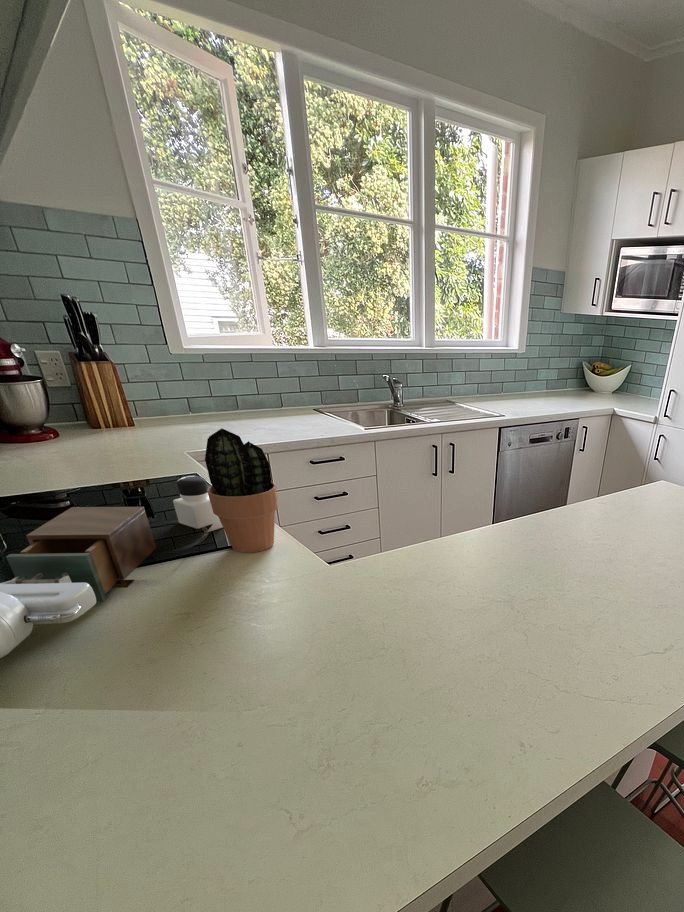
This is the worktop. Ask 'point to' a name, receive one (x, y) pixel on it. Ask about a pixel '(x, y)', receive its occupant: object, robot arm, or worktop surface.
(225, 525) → the potted plant
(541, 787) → the worktop surface
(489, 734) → the worktop surface
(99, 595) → the drawer
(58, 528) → the cabinet
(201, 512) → the medicine bottle
